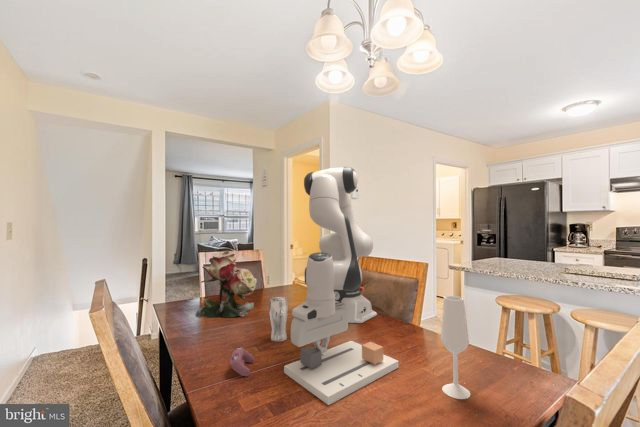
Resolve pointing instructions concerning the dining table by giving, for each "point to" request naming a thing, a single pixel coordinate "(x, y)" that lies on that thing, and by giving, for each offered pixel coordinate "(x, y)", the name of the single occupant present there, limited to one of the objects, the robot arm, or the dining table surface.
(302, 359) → the block
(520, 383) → the dining table surface
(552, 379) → the dining table surface
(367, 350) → the block
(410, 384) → the dining table surface
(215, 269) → the rose bouquet
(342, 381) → the fader panel
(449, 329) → the champagne flute
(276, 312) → the beer glass
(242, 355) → the video game controller
